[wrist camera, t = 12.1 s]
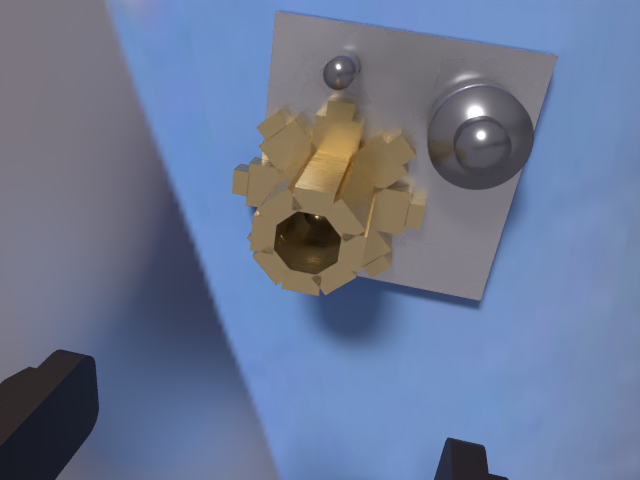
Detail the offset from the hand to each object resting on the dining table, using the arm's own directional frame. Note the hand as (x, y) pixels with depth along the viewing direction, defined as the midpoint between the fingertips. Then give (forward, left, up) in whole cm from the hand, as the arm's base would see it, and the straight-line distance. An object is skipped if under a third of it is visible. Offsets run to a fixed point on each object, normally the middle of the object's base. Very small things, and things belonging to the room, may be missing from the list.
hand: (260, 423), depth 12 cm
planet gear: (+1, +2, -20) cm, 20 cm away
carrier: (-2, 0, -21) cm, 21 cm away
